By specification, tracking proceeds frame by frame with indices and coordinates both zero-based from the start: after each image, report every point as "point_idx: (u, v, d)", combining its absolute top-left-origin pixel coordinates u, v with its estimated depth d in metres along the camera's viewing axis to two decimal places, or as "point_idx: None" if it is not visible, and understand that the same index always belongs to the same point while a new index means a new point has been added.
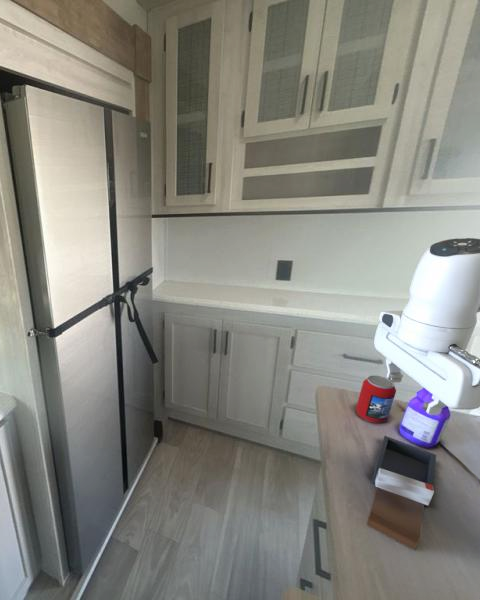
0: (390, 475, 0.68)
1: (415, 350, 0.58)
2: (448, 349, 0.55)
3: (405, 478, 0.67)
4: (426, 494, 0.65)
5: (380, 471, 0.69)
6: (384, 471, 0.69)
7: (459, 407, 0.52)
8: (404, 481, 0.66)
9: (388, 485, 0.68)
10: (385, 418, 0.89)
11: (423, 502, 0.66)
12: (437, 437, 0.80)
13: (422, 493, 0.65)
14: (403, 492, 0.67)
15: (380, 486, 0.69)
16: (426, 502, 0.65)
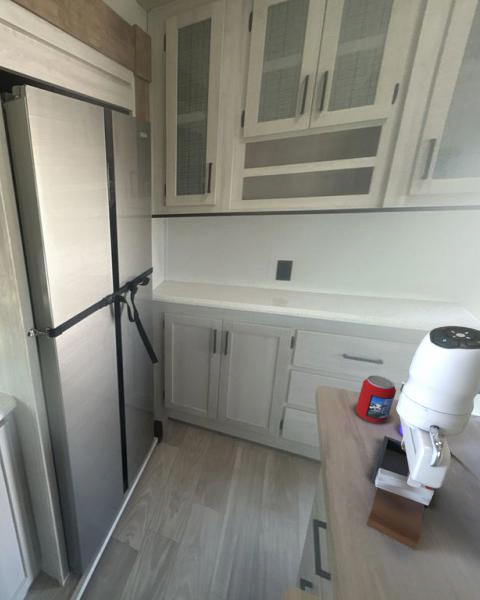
0: (390, 475, 0.68)
1: (406, 422, 0.62)
2: (429, 429, 0.58)
3: (405, 478, 0.67)
4: (426, 494, 0.65)
5: (380, 471, 0.69)
6: (384, 471, 0.69)
7: (417, 481, 0.57)
8: (404, 481, 0.66)
9: (388, 485, 0.68)
10: (385, 418, 0.89)
11: (423, 502, 0.66)
12: None
13: (422, 493, 0.65)
14: (403, 492, 0.67)
15: (380, 486, 0.69)
16: (426, 502, 0.65)
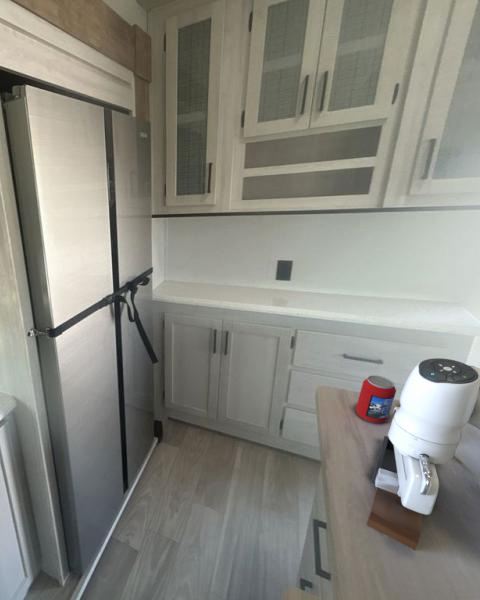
0: (390, 475, 0.68)
1: (398, 448, 0.64)
2: (419, 457, 0.60)
3: None
4: None
5: (380, 471, 0.69)
6: (384, 471, 0.69)
7: (408, 507, 0.59)
8: None
9: (388, 485, 0.68)
10: (385, 418, 0.89)
11: None
12: None
13: None
14: None
15: (380, 486, 0.69)
16: None
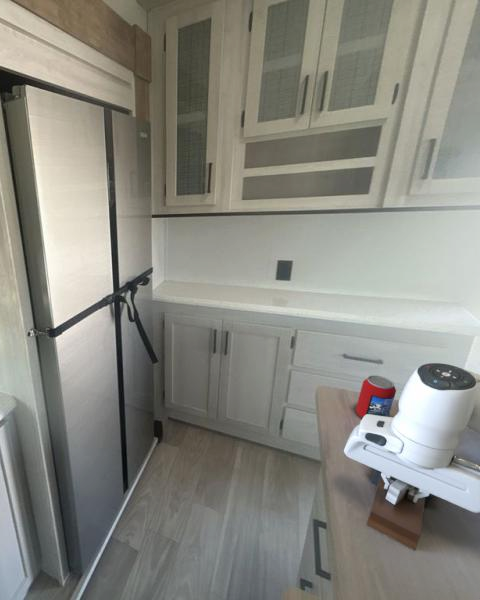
0: (402, 486, 0.65)
1: (424, 467, 0.61)
2: (451, 461, 0.60)
3: None
4: None
5: (396, 488, 0.65)
6: (395, 485, 0.66)
7: None
8: None
9: (401, 495, 0.66)
10: None
11: (414, 487, 0.69)
12: None
13: None
14: (407, 491, 0.67)
15: (397, 501, 0.66)
16: None
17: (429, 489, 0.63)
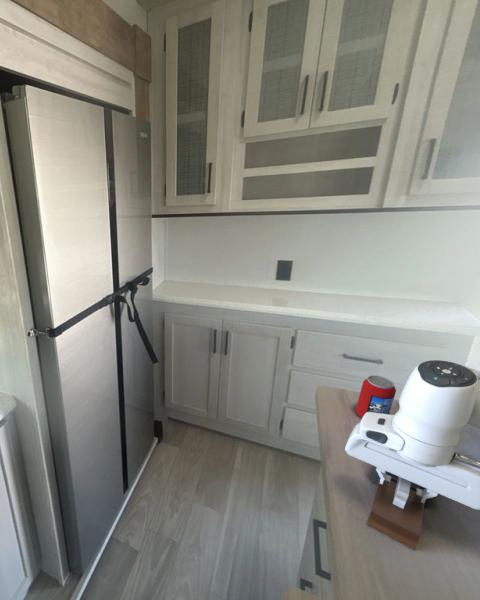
0: (408, 488, 0.65)
1: (425, 465, 0.61)
2: (452, 458, 0.60)
3: None
4: None
5: (404, 493, 0.64)
6: (402, 489, 0.65)
7: None
8: (410, 482, 0.66)
9: None
10: None
11: None
12: None
13: None
14: None
15: (404, 504, 0.66)
16: None
17: (431, 486, 0.63)
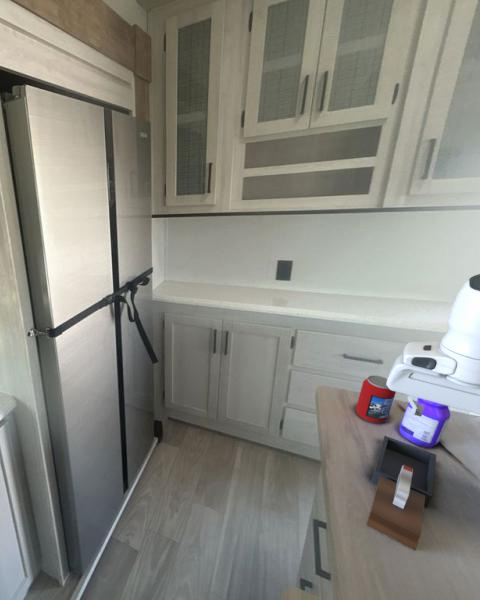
0: (408, 488, 0.65)
1: None
2: None
3: (404, 478, 0.67)
4: None
5: (404, 493, 0.64)
6: (402, 489, 0.65)
7: None
8: (410, 482, 0.66)
9: None
10: (385, 418, 0.89)
11: None
12: (437, 437, 0.80)
13: None
14: None
15: (404, 504, 0.66)
16: None
17: None
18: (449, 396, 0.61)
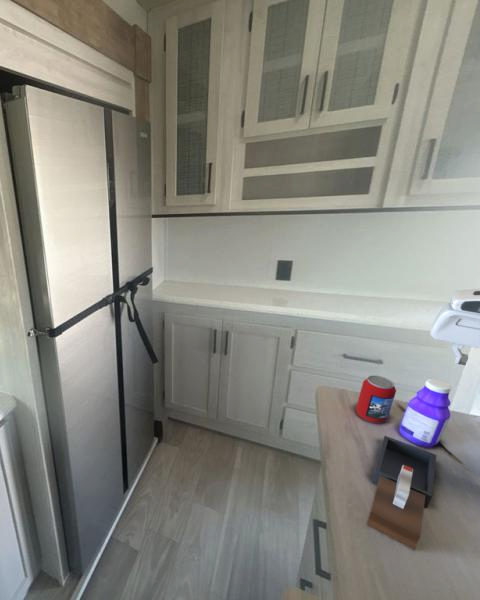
0: (408, 488, 0.65)
1: None
2: None
3: (404, 478, 0.67)
4: None
5: (404, 493, 0.64)
6: (402, 489, 0.65)
7: None
8: (410, 482, 0.66)
9: None
10: (385, 418, 0.89)
11: None
12: (437, 437, 0.80)
13: None
14: None
15: (404, 504, 0.66)
16: None
17: None
18: None
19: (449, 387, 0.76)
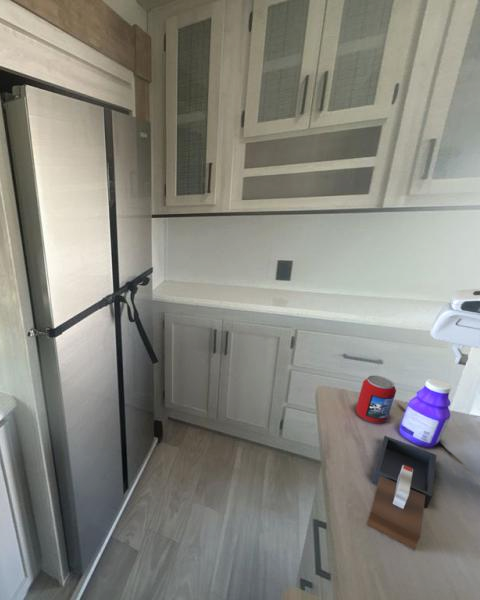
0: (408, 488, 0.65)
1: None
2: None
3: (404, 478, 0.67)
4: None
5: (404, 493, 0.64)
6: (402, 489, 0.65)
7: None
8: (410, 482, 0.66)
9: None
10: (385, 418, 0.89)
11: None
12: (437, 437, 0.80)
13: None
14: None
15: (404, 504, 0.66)
16: None
17: None
18: None
19: (449, 387, 0.76)
